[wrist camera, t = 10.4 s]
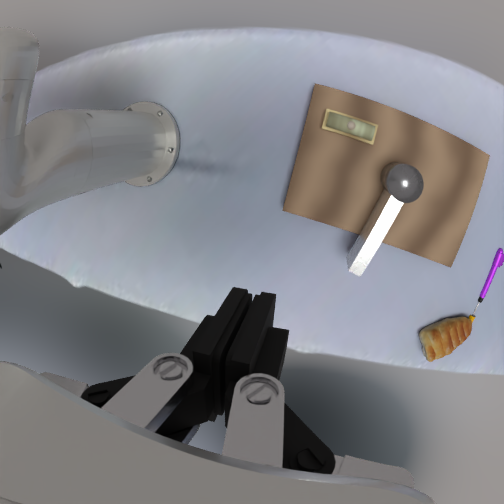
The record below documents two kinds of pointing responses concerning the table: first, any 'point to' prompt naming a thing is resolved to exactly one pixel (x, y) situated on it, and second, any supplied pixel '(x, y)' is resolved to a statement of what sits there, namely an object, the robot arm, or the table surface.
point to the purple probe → (490, 277)
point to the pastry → (444, 336)
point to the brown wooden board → (371, 165)
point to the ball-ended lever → (385, 212)
